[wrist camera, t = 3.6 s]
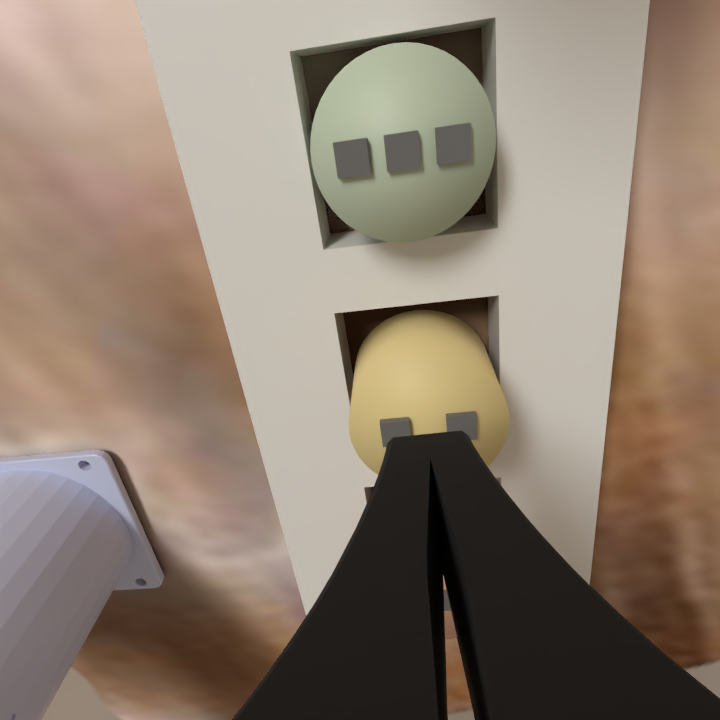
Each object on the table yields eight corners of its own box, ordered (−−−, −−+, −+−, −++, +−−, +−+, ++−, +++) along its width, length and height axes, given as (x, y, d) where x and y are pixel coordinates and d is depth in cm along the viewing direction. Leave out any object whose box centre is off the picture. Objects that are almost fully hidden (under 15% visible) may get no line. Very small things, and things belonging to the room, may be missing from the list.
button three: (337, 224, 16) (325, 254, 13) (312, 66, 14) (292, 58, 11) (477, 207, 16) (498, 233, 13) (472, 41, 14) (496, 25, 11)
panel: (313, 584, 24) (308, 622, 23) (155, -30, 13) (120, -50, 12) (571, 570, 23) (587, 609, 21) (625, -119, 12) (665, -155, 10)
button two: (364, 431, 18) (359, 498, 15) (345, 317, 16) (336, 368, 13) (489, 420, 18) (511, 487, 15) (487, 302, 16) (511, 351, 13)
